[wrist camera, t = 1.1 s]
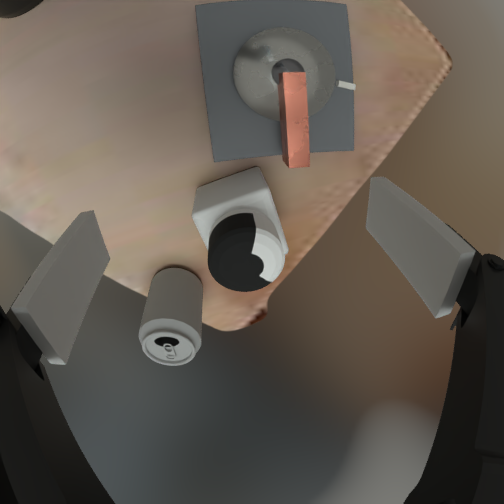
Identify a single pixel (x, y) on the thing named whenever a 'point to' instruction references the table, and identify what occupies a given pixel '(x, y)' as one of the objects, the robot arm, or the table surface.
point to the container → (240, 230)
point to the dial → (286, 84)
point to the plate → (224, 91)
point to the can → (172, 317)
